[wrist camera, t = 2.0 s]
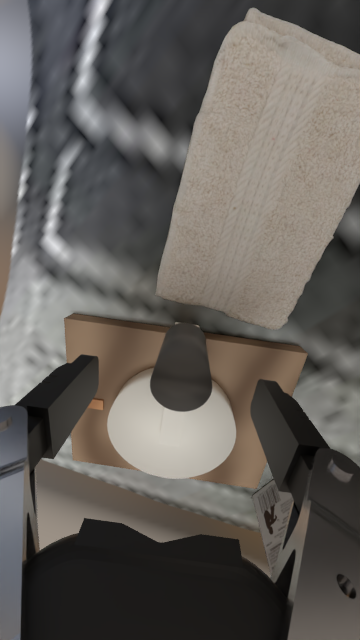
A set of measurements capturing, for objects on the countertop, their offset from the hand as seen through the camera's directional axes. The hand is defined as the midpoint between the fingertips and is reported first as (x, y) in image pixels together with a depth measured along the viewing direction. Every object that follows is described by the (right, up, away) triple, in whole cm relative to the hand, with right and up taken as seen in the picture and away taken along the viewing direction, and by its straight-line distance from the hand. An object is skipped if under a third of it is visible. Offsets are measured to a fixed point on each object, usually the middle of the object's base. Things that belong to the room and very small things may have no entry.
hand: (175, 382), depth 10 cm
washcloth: (+6, +12, +6) cm, 15 cm away
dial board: (0, -6, +12) cm, 14 cm away
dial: (0, -4, +10) cm, 11 cm away
